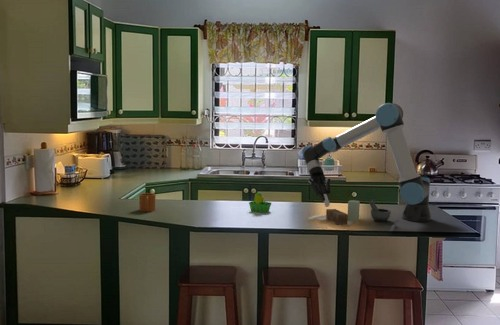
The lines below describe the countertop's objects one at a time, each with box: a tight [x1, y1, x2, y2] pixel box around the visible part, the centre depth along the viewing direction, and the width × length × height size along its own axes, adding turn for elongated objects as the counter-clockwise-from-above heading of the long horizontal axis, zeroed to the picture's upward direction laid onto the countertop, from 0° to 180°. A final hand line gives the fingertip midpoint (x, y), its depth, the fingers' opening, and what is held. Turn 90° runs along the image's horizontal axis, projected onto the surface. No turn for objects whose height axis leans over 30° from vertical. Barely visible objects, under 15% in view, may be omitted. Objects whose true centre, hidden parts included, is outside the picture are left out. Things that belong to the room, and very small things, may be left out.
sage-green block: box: [347, 199, 361, 223], centre depth 275 cm, size 5×5×10 cm
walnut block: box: [325, 208, 348, 225], centre depth 272 cm, size 5×5×14 cm
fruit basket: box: [248, 192, 272, 214], centre depth 300 cm, size 11×9×11 cm
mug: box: [138, 192, 156, 213], centre depth 296 cm, size 9×12×9 cm
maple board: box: [306, 213, 361, 226], centre depth 277 cm, size 24×14×2 cm, turn 58°
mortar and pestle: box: [368, 199, 392, 223], centre depth 276 cm, size 11×9×12 cm
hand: (327, 205), depth 281 cm, fingers closed
